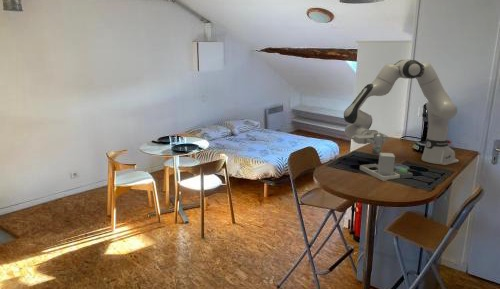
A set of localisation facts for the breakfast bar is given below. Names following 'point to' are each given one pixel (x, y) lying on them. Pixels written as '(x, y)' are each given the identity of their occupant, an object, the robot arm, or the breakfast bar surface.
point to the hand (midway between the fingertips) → (378, 142)
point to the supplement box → (386, 164)
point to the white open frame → (375, 172)
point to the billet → (377, 143)
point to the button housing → (402, 176)
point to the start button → (403, 170)
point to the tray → (400, 166)
